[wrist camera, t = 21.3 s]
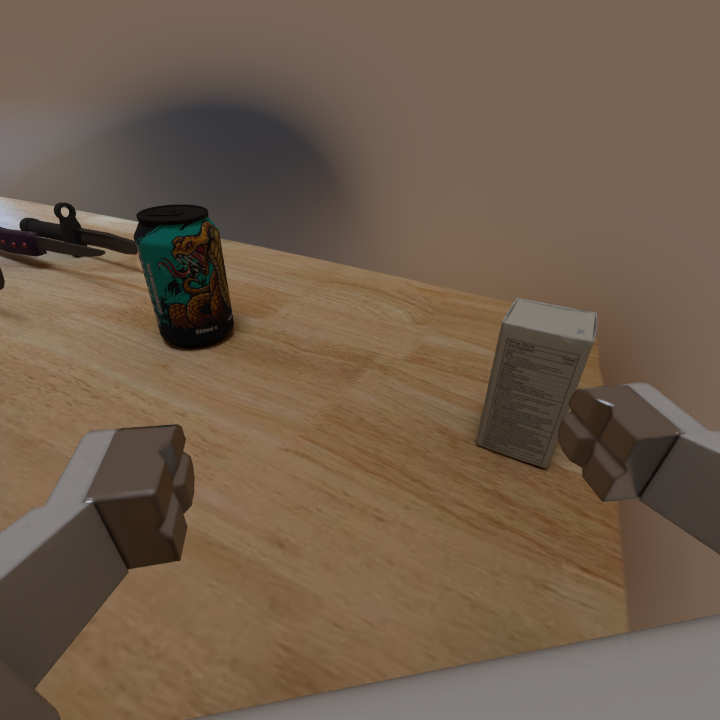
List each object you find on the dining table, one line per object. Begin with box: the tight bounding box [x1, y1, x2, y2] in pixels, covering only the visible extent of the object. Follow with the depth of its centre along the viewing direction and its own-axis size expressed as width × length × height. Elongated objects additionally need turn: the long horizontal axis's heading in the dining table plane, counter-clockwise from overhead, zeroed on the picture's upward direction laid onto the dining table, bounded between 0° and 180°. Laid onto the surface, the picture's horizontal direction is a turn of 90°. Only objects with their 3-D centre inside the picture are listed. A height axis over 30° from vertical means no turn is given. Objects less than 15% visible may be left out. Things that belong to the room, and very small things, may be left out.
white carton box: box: [476, 298, 597, 468], centre depth 27 cm, size 5×4×10 cm
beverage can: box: [134, 205, 234, 348], centre depth 38 cm, size 7×7×12 cm
